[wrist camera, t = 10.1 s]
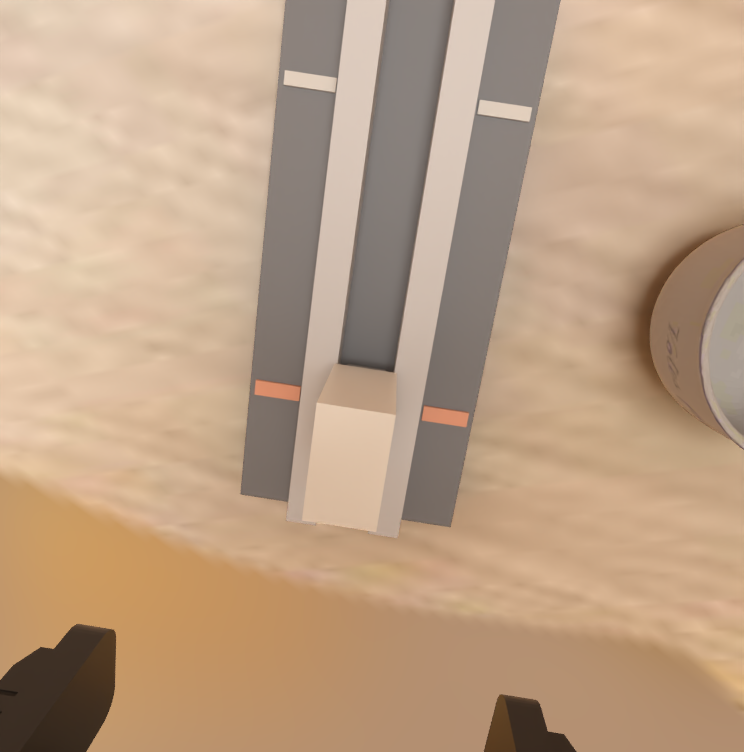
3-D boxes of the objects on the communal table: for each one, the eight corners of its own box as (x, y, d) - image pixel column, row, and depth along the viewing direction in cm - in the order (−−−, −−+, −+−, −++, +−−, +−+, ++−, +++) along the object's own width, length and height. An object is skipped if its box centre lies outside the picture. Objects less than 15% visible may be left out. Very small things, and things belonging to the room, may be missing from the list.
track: (552, -3, 26) (579, -42, 22) (447, 509, 33) (453, 547, 30) (299, -41, 26) (281, -86, 22) (249, 478, 33) (230, 511, 30)
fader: (397, 361, 29) (396, 414, 21) (382, 450, 30) (376, 532, 22) (339, 353, 29) (316, 402, 21) (327, 441, 30) (301, 520, 22)
